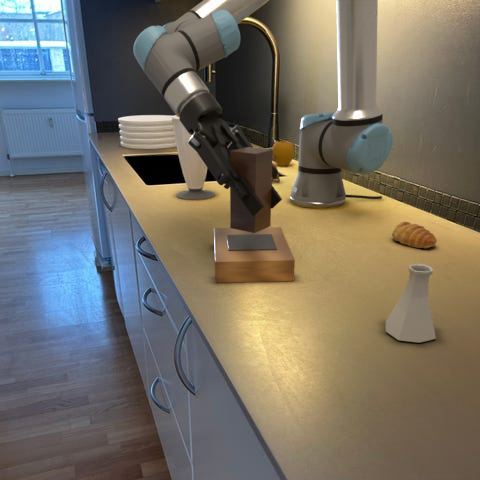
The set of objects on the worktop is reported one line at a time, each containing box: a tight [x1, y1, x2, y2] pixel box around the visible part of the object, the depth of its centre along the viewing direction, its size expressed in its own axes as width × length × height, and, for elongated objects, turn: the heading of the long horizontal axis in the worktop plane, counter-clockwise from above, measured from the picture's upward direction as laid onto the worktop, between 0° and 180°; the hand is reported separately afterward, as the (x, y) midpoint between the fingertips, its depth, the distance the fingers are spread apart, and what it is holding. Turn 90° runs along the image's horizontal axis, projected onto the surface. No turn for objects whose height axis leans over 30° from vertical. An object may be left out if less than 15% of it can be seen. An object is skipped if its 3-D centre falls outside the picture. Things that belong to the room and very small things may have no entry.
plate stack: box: [117, 114, 177, 150], centre depth 236 cm, size 28×28×12 cm
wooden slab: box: [213, 226, 296, 284], centre depth 99 cm, size 14×20×4 cm
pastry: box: [391, 221, 438, 249], centre depth 109 cm, size 9×7×4 cm
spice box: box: [229, 147, 273, 233], centre depth 94 cm, size 6×6×14 cm
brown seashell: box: [272, 162, 281, 184], centre depth 165 cm, size 12×10×8 cm
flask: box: [384, 263, 437, 344], centre depth 72 cm, size 7×7×10 cm
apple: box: [271, 140, 295, 167], centre depth 189 cm, size 9×8×9 cm
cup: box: [172, 114, 216, 201], centre depth 144 cm, size 12×12×22 cm
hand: (267, 207), depth 93 cm, fingers closed on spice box, 5 cm apart
